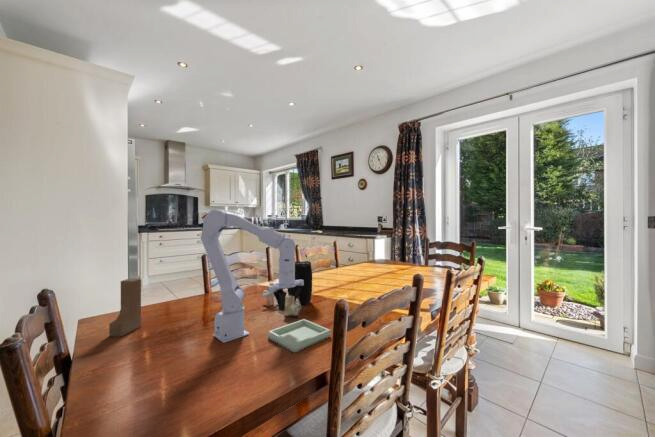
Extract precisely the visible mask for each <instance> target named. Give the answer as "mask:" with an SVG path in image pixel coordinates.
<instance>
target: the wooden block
mask: <svg viewBox="0 0 655 437" xmlns="http://www.w3.org/2000/svg"><path fill="white" fill-rule="evenodd" d="M119 310H120V311H119V313H118V316H117V317H116V319H114V320H113V321H111V322H110V323H109V324H108V325H109V327H108V328H109V332H108V333H109V334H108V335H109V337H115V338H117V337H118V338H122V337H124V336H126V335H127V334H129V333H131V332H133V331H135V330H137V329H139V328H141V327H142V279H141V278H134V277H133V278H131V277H130V278H127V279H124V280H120V308H119Z"/></svg>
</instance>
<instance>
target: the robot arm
mask: <svg viewBox="0 0 655 437" xmlns="http://www.w3.org/2000/svg"><path fill="white" fill-rule="evenodd" d="M226 227H237V228H240V229H241V230H243V231H246V232H248V233H250V234H253V235H255V236H257V238H258V240H259V242H260V243H263V244H265V245H267V246H269V247H270V248H273V249H274V250H276V249H278V252H279V257H278V283H274V285H271V286H270V285H268V288H267V291H268V292H270V293H273V294H274V296H275V297H274V299H275V300H276V303H277V306H278V311H279V310H281V311H284V308H285V297H286V294H289V295H292V296H294V306H295V302H296V299H297V296H298V294H299V292H300V291H301V288H300V287H298V286H300V285H301V286H302V285H304V280H301V279H299V280H295V262H296V258H295V255H296V254H295V250H296V248H297V246H296V243H295V240H294V239H293V238H291V237H290V236H287V235H286V233H281V232H279V231H277V230H275V227H272V226H270V227H269V226H264V227H260V226H259V225H258V224H255V223H253V222H252V221H249V220H247V219H246V218H244V217H242V216H240V215H238V214H236V213H232V212H228V211H227V210H225V209H211V210H210V211H208V213H206V215H205V217H204V218H203V219H202V230H201V234H200V241H201V244H202V245H203V248H204V249H205V252H206V255H207V257H208V260H209V262H210V264H211V265H210V266H211V267H212V270H213V272H214V275H215V277H216V280H217V282H218V285H219V288H220V289H219V290H220V291H219V293H220V297H221V307H222V310H221V311H220V312H217V313H216V314H215V316H214V327H213V328H214V329H213V330H214V331H213V332H214V333H213V337H215V338H217V340H219V341H220V342H221V343H223V344H224V343H227V342H231V341H234V340H236V339H240V338H242V337H245V336H248V335H250V332H249V331H247V330H245V305H244V304H243V301H244V300H245V297H246V293H245V291H244V289H242V287H241V286H240V285H239V283H238V282H237V281H236V279H235V277H234V274H233V273H232V270H231V267H230V266H229V265H230V264H229V262H228V260H227V257H226V255H225V252H224V250H223V247H222V245H221V243H220V240H219V237H220V236H221V234H222V232H223V230H224V229H225V228H226ZM285 290H287V292H286V291H285Z"/></svg>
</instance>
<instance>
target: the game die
mask: <svg viewBox="0 0 655 437" xmlns="http://www.w3.org/2000/svg"><path fill="white" fill-rule="evenodd" d="M298 298H299V297H298ZM298 298H297V299H296V302H295V306H294V313H292V314H289V315H286V316H285V315H284V317H287V316H293V317H294V316H295V317H296V318H298V317H299V316H298V314H299V313H300V310H302V308H304V306H302V303H300V301H299V299H298Z"/></svg>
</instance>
